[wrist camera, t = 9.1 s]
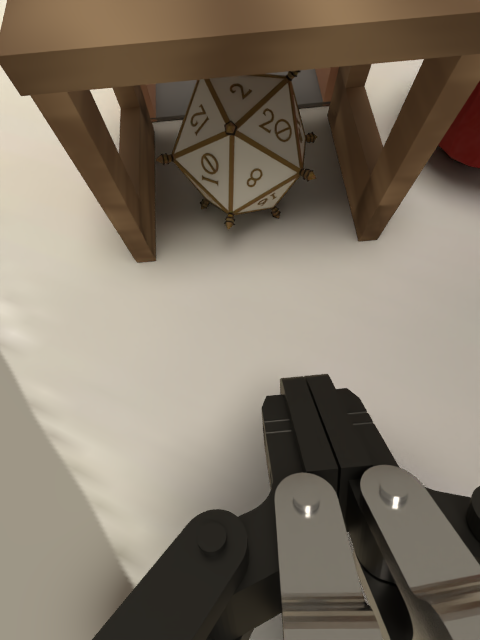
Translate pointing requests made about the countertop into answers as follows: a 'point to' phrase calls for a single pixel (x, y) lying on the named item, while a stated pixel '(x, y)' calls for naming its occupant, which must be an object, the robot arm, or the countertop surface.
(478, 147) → the apple
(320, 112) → the countertop surface
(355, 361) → the countertop surface
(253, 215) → the countertop surface
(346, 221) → the countertop surface
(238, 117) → the game die
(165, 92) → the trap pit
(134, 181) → the tunnel
